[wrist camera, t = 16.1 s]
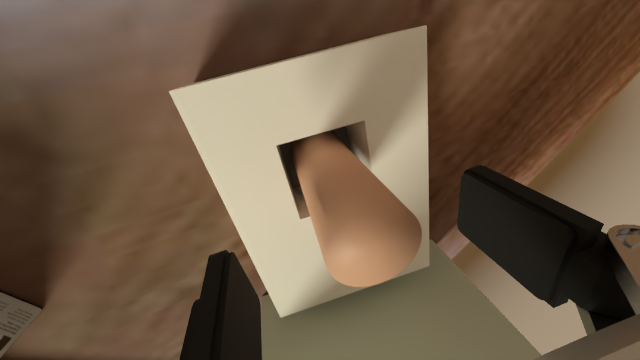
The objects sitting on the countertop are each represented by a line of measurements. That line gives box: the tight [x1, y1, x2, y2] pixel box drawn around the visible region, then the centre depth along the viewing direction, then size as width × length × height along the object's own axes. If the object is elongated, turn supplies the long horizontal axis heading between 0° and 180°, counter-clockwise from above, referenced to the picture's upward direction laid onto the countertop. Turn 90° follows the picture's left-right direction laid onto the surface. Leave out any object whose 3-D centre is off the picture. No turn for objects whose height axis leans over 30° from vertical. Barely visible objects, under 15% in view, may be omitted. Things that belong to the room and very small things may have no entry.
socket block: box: [169, 25, 430, 318], centre depth 19 cm, size 19×14×5 cm
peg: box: [291, 130, 422, 287], centre depth 15 cm, size 4×4×12 cm
